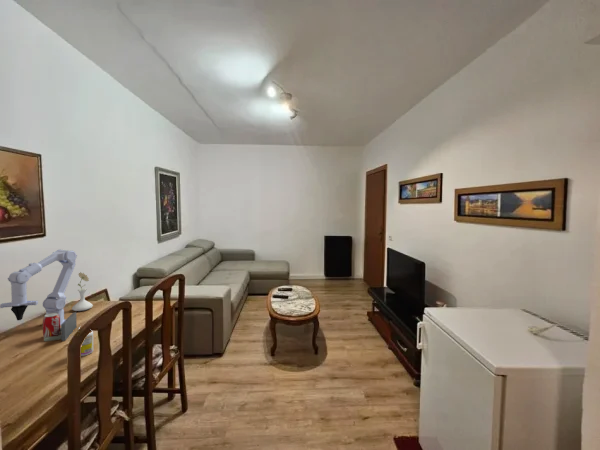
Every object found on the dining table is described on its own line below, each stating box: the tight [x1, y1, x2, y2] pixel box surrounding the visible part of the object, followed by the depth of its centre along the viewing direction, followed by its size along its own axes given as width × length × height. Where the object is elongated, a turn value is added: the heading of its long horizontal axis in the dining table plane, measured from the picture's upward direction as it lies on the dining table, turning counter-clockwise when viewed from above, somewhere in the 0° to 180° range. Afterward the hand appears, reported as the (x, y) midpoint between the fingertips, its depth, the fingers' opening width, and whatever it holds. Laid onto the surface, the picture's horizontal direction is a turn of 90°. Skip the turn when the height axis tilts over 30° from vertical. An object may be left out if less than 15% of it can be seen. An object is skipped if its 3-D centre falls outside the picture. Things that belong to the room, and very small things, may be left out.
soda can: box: [42, 313, 61, 339], centre depth 152 cm, size 7×7×12 cm
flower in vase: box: [71, 271, 94, 312], centre depth 192 cm, size 13×11×25 cm
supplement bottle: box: [78, 326, 94, 357], centre depth 136 cm, size 7×7×13 cm
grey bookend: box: [43, 311, 77, 342], centre depth 154 cm, size 18×10×9 cm, turn 23°
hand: (19, 319), depth 150 cm, fingers closed
